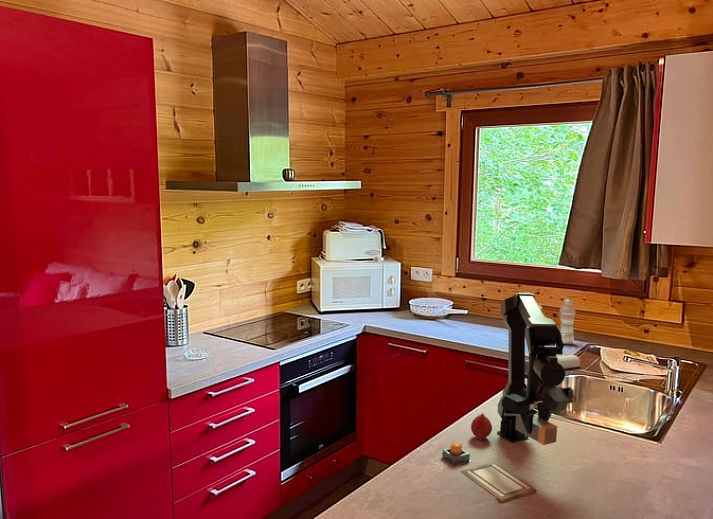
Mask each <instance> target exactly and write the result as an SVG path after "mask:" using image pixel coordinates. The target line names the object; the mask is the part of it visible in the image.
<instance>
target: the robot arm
mask: <svg viewBox="0 0 713 519" xmlns="http://www.w3.org/2000/svg"><path fill="white" fill-rule="evenodd" d="M537 304H538V303H537V301H536V296H535V294H534V293H532V292H517V293H515V294H513V295H512V296H510V297H507V298H504V300H503V301H502V302H501V305H500V313H501V316H502V322H503V323H504V325H505V326H506V328H507V330H508V365H507V366H508V367H507V369H508V378H507V379H508V381H507V383H506V384H505V387H504V388H503V389H502V395H501V397H500V399H499V401H498V403H497V413H498V415H499V417H500V419H501V420H500V426H499V429H500V430H498V431H497V432H496V434H497V435H499V436H501V437H503V439H506V440H507V441H509V442H512V443H513V442H517V441H522V440H525V439H529V437H528V436H527V435H525V434H523V433H521V432H519V431H517V430H516V429H515V428H516V415H517V414H519V415H520V417H521V419H522V421H523V424H524V426H525V429H526V431H527V433H529V434H531V431H532V425H533V416H534V415H535V416H536V414H537V417H539V418H541V419H543V420H545V421H547V422H549V420H550V419H551V418H550V417H551V416H552V415H553V413H557V412H559V411H565V410H566V409H567V407H568V405H569V404H572V403H574V401H573V400H574V392H575V391H574V389H573V388H572V387H571V386H567V387H562V386H561V384H562V382H564V380H565V378H566V369H564V368H563V367H562V366H561V365H560V364H559V363H558V358H557V357H558V356H557V355H560V356H563V353H564V352H563V350H564V348H565V346H564V344H563V341H562V336H561V332H560V327H558V325H557V324H556V323H555V321H554V320H553V319H552V318H549V317H544V315H545V314H544V315H543V314H542V312H541V310H540V308H539V306H538V305H539V304H538V305H537ZM526 346H527V351H528V373H525V360H526ZM535 404H536V407H537V410H536V409H535Z"/></svg>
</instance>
